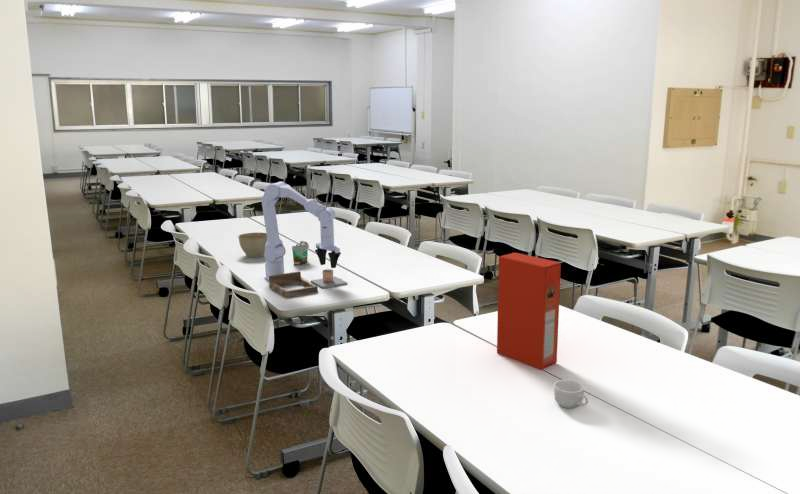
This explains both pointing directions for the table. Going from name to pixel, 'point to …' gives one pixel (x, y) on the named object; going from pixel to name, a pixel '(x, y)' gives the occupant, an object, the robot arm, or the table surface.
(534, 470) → the table surface
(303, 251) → the food container
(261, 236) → the planter bowl
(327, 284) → the potting mat
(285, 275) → the frame
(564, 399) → the teacup
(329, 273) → the clay pot
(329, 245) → the robot arm
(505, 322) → the file binder
